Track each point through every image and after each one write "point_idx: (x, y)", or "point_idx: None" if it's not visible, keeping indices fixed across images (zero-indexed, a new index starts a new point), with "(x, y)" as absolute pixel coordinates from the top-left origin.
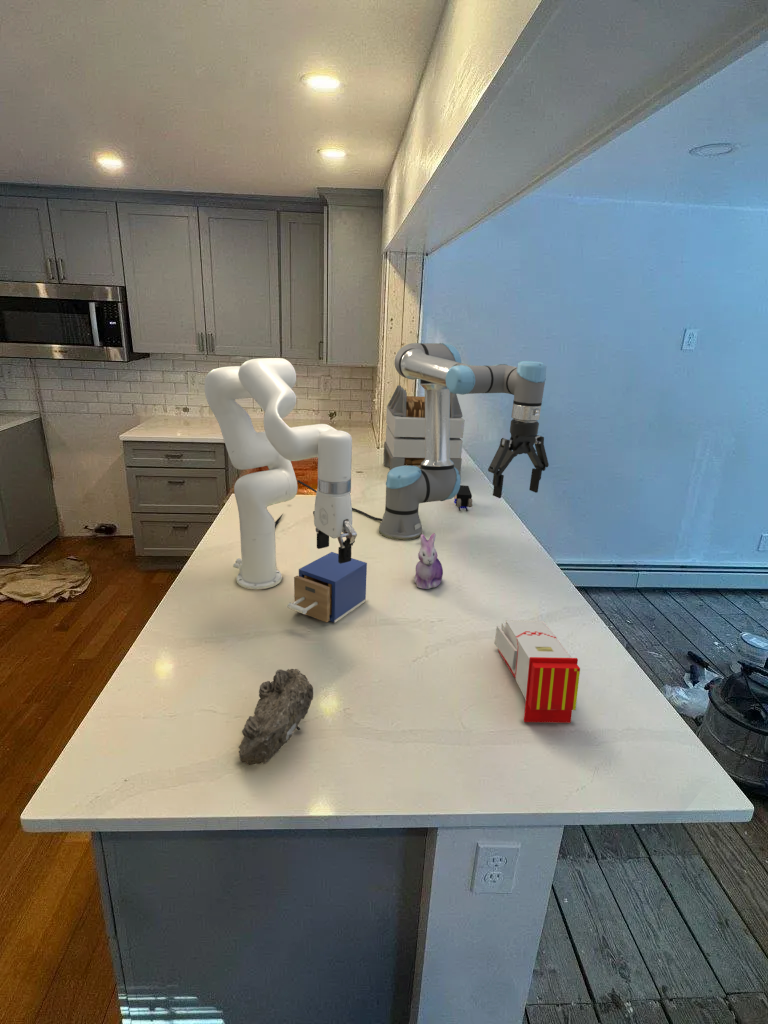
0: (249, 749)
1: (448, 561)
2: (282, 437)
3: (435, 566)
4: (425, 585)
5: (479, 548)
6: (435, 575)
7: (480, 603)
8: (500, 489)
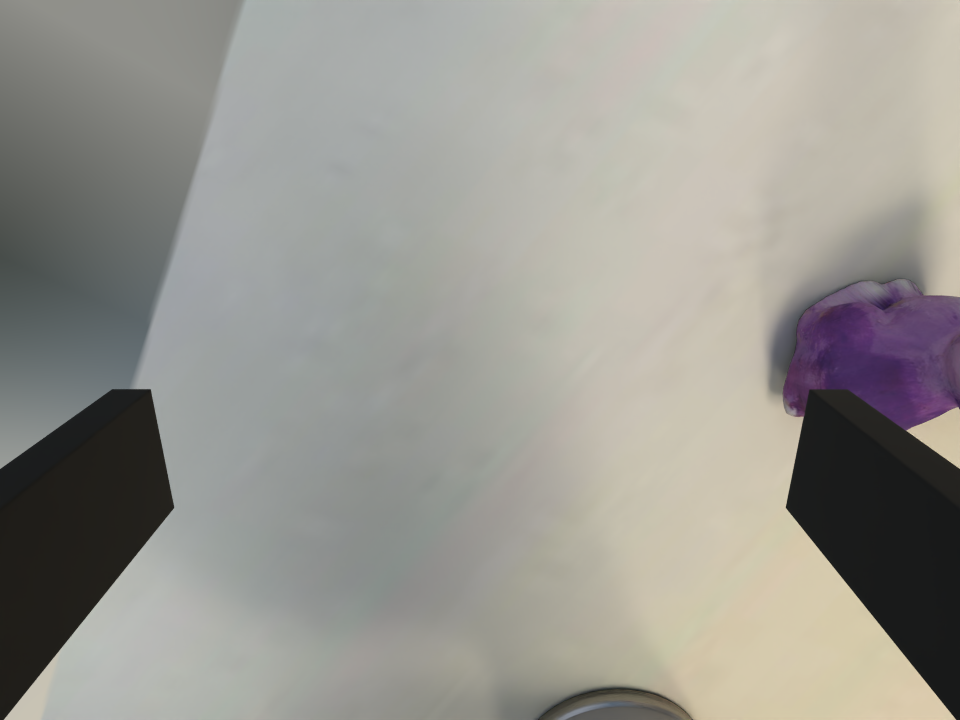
0: None
1: (615, 471)
2: None
3: (925, 325)
4: (920, 294)
5: (389, 525)
6: (884, 310)
7: (794, 49)
8: (929, 450)
